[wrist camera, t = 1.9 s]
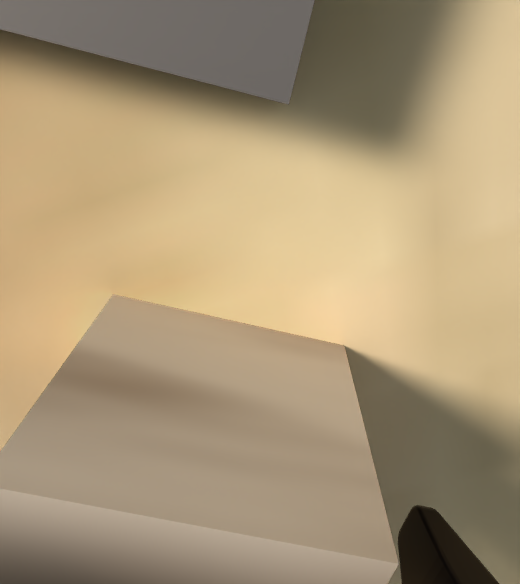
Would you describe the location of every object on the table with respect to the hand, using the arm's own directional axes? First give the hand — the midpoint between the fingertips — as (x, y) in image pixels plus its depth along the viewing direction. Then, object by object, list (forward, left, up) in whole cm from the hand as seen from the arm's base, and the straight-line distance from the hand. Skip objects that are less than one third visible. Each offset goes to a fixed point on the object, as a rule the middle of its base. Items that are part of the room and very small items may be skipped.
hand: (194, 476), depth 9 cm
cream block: (0, 0, -2) cm, 2 cm away
